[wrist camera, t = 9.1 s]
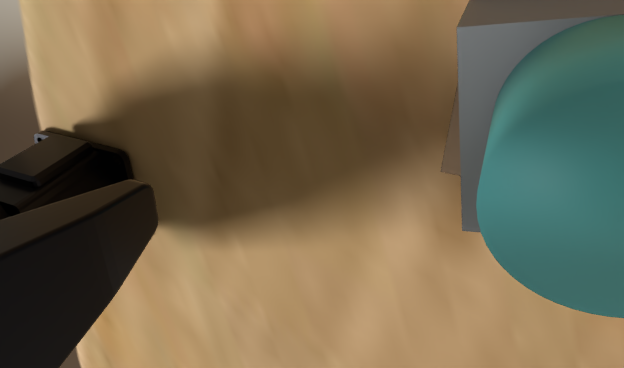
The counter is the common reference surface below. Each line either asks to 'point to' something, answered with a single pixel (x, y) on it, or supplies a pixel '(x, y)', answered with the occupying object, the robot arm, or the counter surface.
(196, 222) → the counter surface
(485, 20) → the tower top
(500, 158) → the teal round block
